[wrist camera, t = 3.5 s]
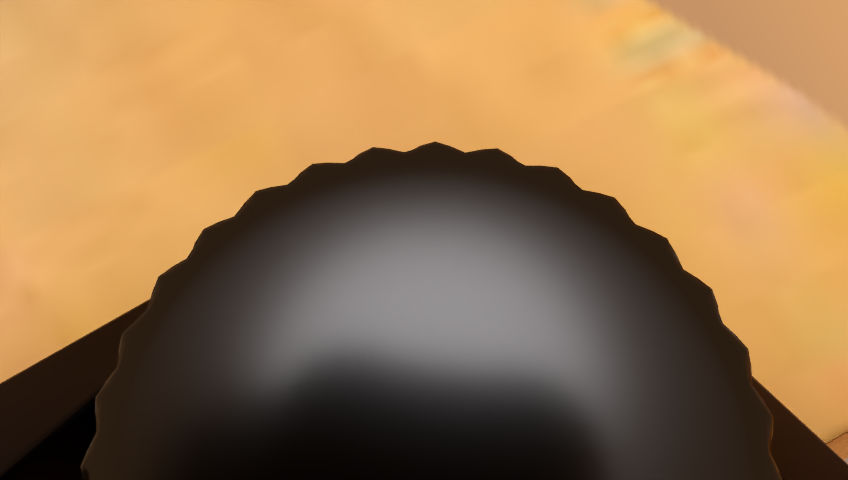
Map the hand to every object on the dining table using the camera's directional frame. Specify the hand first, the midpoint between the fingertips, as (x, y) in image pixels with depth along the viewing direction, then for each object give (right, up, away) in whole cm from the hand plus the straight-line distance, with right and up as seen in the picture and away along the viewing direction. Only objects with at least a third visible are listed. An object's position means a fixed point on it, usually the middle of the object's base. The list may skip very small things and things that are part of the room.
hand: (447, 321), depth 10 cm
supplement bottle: (0, -3, +6) cm, 7 cm away
